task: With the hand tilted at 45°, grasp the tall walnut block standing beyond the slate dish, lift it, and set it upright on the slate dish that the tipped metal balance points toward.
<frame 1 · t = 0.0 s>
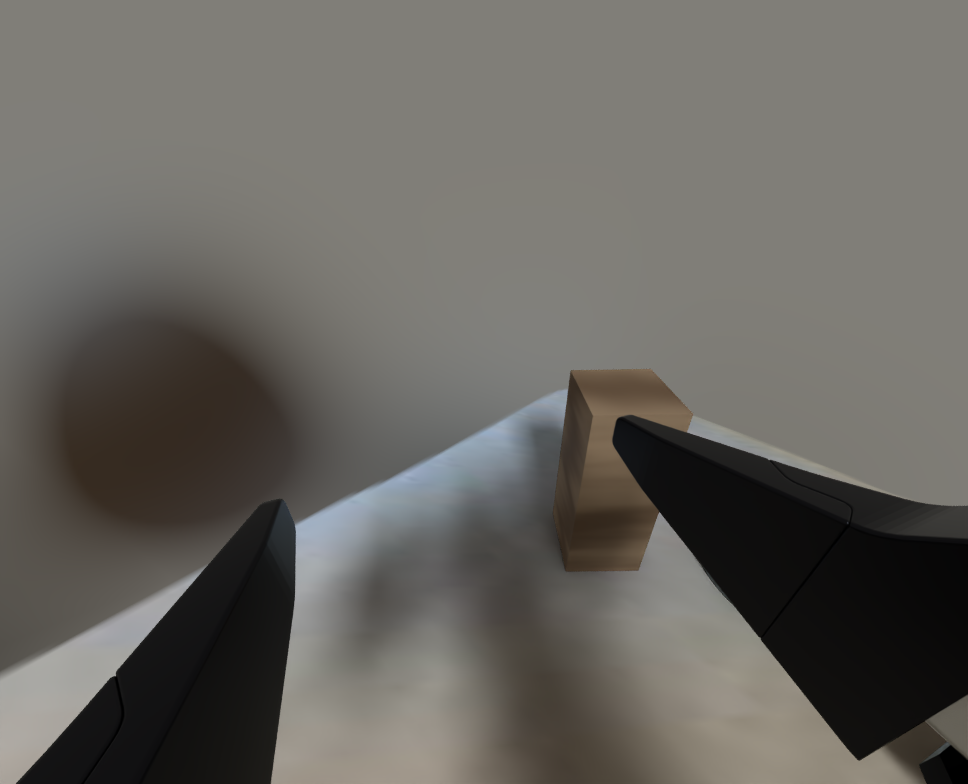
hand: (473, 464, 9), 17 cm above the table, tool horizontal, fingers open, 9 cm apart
walnut block: (592, 539, 26), on the table
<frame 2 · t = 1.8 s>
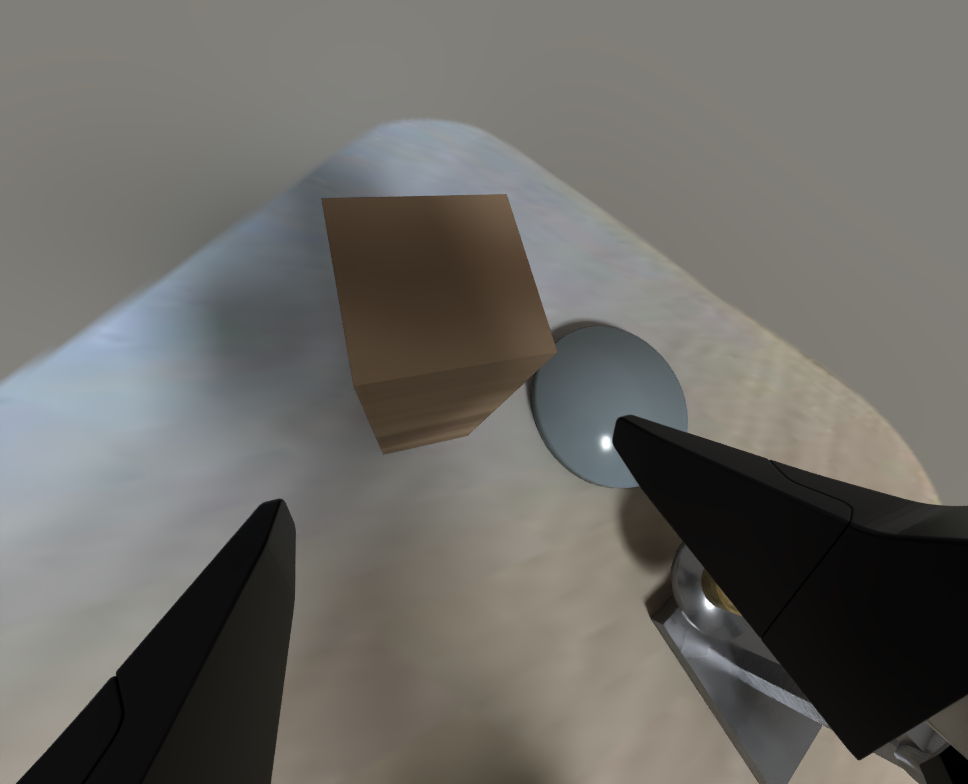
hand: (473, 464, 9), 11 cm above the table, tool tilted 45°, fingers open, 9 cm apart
walnut block: (418, 404, 21), on the table
balance: (733, 660, 21), on the table
slate dish: (607, 405, 24), on the table
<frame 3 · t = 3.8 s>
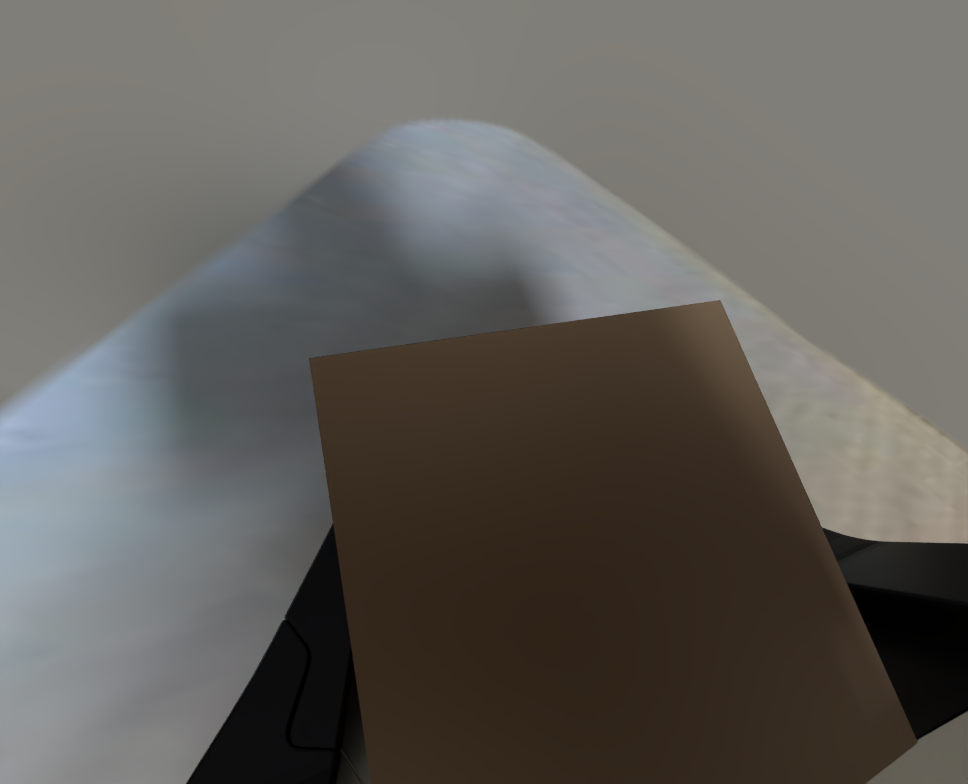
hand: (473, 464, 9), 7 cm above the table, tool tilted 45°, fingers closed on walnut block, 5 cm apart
walnut block: (449, 507, 15), on the table, touching gripper
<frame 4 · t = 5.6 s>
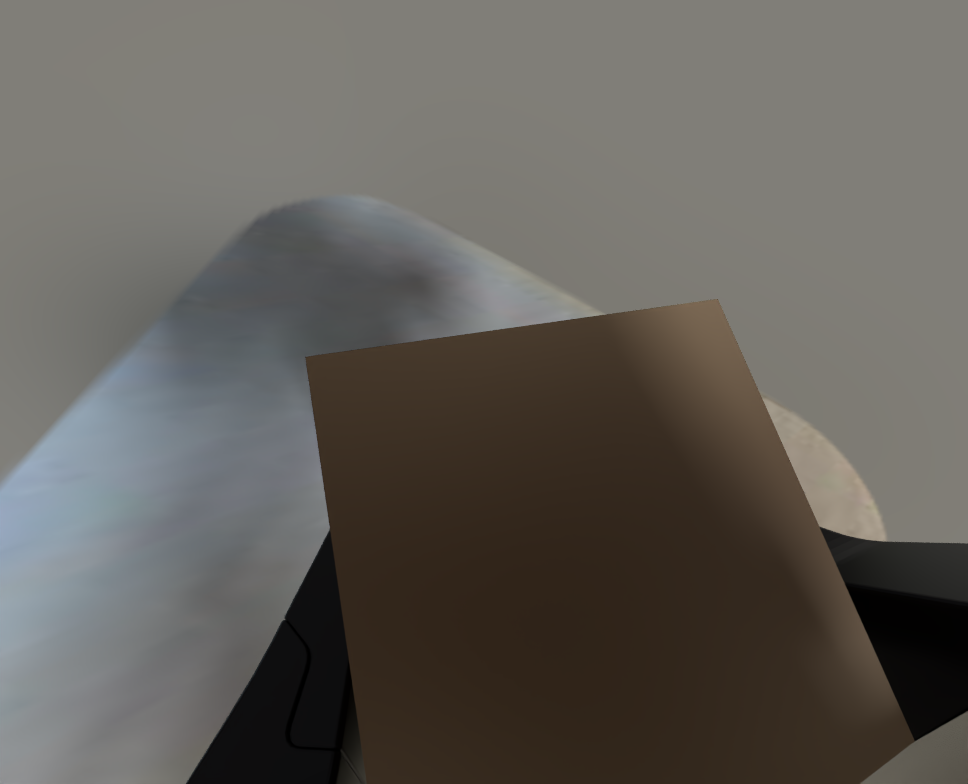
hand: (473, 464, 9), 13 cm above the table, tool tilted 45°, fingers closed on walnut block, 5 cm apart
walnut block: (449, 507, 15), point 6 cm above the table, touching gripper
when the fingers open (9 cm above the table, at t = 7.7 s): walnut block stays where it is, resting on slate dish.
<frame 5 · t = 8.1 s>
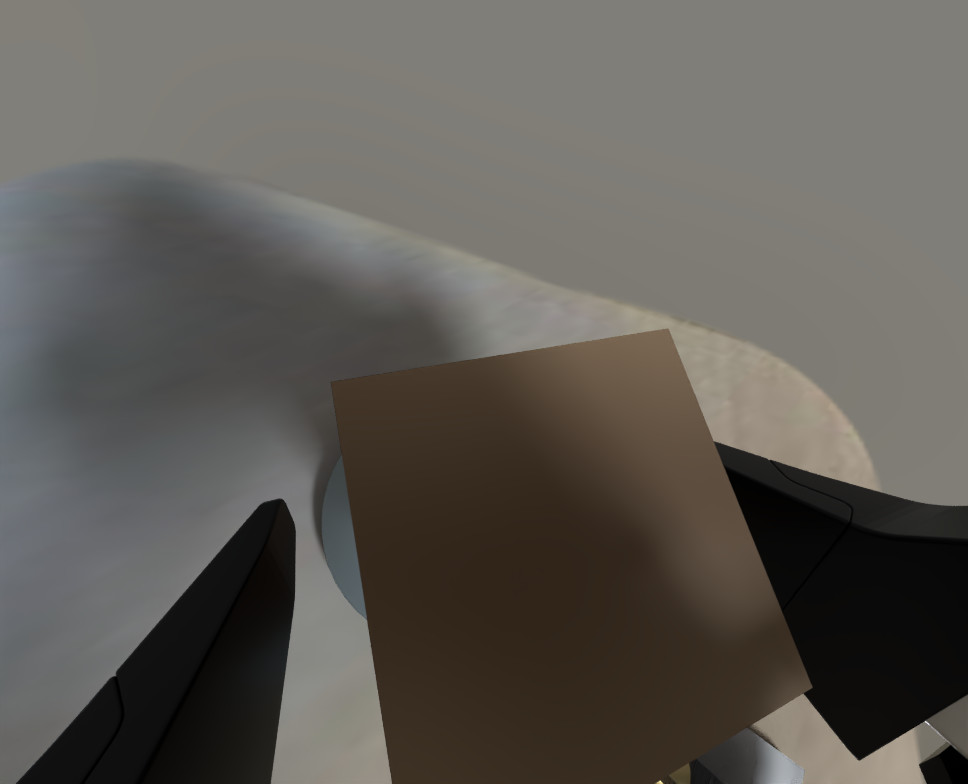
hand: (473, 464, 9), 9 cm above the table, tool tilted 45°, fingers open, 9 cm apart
walnut block: (447, 506, 16), point 1 cm above the table, touching slate dish
balance: (685, 765, 17), on the table
slate dish: (444, 506, 17), on the table
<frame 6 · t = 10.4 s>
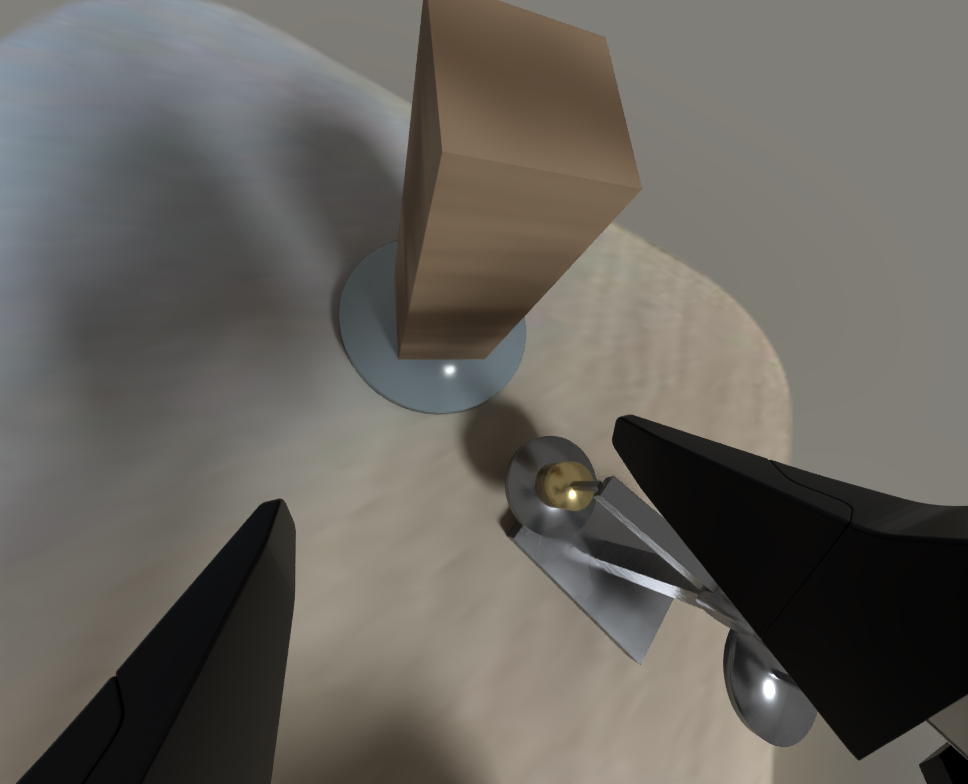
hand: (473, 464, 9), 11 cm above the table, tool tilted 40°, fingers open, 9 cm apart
walnut block: (439, 319, 20), point 1 cm above the table, touching slate dish
balance: (595, 552, 21), on the table
slate dish: (437, 326, 21), on the table
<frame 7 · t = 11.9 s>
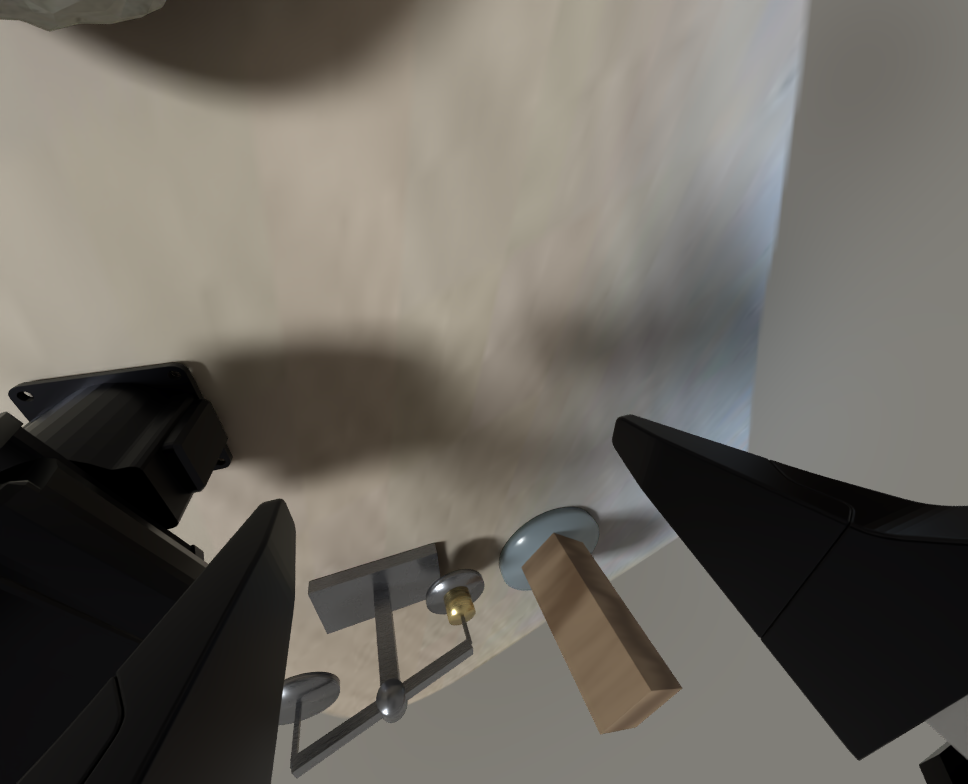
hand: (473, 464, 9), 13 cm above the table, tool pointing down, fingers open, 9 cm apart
walnut block: (552, 554, 35), point 1 cm above the table, touching slate dish
balance: (380, 582, 30), on the table
slate dish: (547, 546, 36), on the table
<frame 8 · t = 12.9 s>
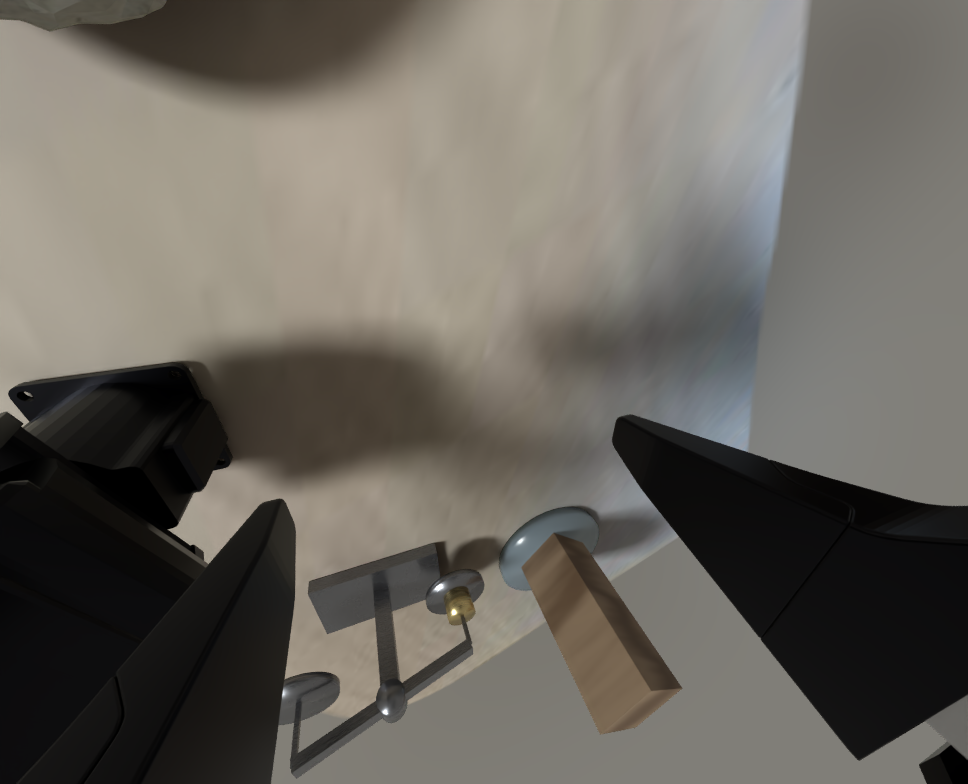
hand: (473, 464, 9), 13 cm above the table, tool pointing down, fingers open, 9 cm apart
walnut block: (552, 554, 35), point 1 cm above the table, touching slate dish
balance: (380, 582, 30), on the table
slate dish: (547, 546, 36), on the table
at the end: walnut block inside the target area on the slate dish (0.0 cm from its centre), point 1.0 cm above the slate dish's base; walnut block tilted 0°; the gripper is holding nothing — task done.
